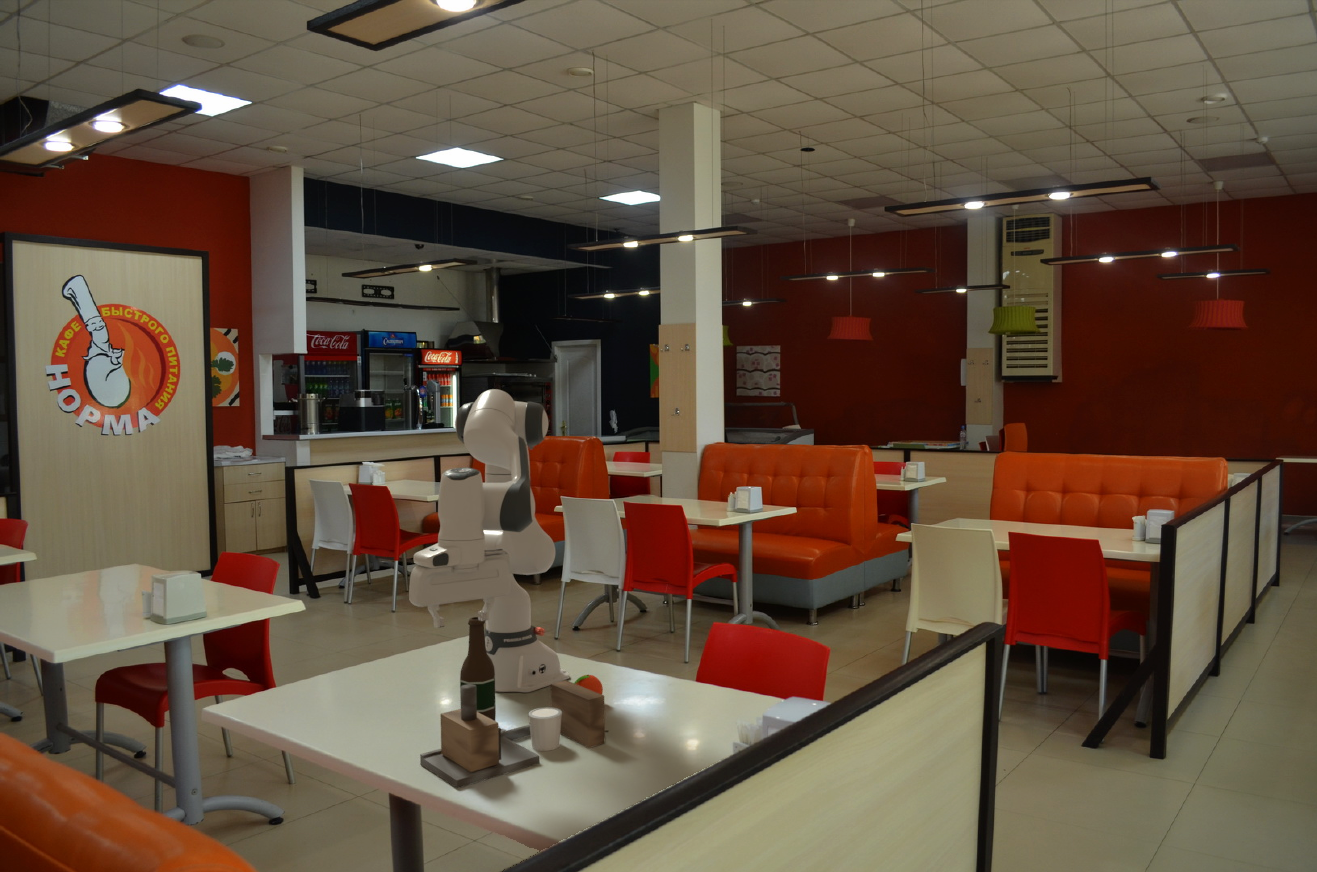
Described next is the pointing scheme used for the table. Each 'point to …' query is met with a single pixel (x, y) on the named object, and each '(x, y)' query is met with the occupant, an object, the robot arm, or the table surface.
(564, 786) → the table surface
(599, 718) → the frame
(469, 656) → the beer bottle
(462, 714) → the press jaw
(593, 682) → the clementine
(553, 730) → the white cup
